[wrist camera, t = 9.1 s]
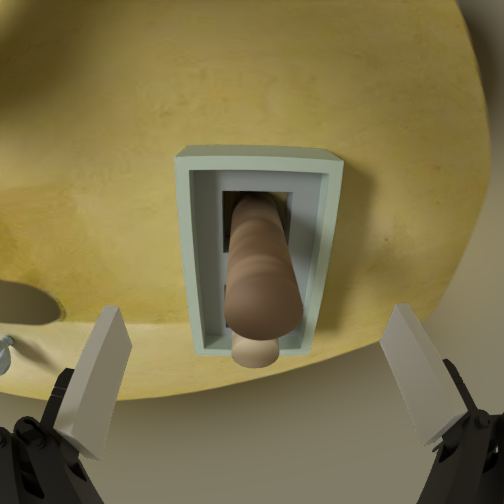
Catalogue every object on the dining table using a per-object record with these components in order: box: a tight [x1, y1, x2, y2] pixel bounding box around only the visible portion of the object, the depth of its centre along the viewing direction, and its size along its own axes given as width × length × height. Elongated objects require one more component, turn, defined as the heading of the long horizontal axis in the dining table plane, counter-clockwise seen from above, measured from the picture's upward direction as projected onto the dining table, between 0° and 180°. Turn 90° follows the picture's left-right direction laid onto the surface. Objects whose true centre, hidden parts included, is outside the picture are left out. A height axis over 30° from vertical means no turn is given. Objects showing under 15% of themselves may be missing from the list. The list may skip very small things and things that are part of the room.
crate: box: [174, 145, 344, 356], centre depth 27 cm, size 20×12×5 cm, turn 179°
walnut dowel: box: [224, 191, 303, 341], centre depth 21 cm, size 4×4×14 cm
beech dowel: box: [231, 331, 280, 368], centre depth 27 cm, size 4×4×9 cm
